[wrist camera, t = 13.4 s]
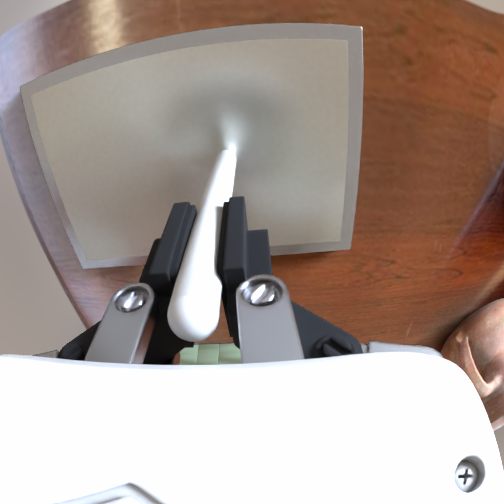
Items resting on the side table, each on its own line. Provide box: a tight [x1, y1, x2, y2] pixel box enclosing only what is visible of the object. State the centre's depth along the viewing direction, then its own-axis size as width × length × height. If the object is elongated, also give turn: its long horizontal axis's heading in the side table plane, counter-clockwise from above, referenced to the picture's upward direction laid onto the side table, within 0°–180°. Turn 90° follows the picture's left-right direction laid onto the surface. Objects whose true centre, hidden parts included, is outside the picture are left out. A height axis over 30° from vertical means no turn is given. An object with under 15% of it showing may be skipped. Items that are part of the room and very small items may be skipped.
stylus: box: [167, 150, 236, 342], centre depth 12 cm, size 1×1×14 cm
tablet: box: [20, 23, 363, 269], centre depth 19 cm, size 22×16×1 cm
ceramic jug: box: [441, 298, 504, 431], centre depth 27 cm, size 18×14×14 cm
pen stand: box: [179, 343, 241, 365], centre depth 32 cm, size 8×8×6 cm
